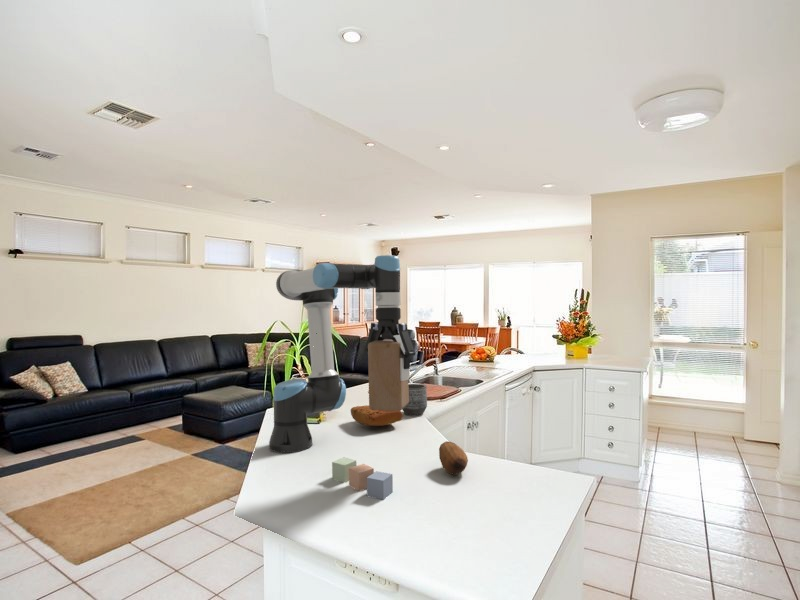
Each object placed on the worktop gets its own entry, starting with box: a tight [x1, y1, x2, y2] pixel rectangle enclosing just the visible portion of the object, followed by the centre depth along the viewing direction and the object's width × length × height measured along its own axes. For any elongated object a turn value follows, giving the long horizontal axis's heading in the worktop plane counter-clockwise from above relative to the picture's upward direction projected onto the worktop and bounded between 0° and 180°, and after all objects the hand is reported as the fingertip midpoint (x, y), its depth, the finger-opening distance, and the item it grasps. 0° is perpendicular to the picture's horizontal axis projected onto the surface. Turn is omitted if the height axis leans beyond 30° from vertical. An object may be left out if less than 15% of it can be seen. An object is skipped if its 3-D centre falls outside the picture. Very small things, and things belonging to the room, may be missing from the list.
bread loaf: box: [350, 404, 404, 427], centre depth 187 cm, size 22×17×8 cm
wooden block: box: [367, 339, 409, 411], centre depth 134 cm, size 10×10×20 cm
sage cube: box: [331, 456, 357, 483], centre depth 130 cm, size 5×5×5 cm
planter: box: [401, 383, 428, 417], centre depth 205 cm, size 12×12×13 cm
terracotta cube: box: [348, 463, 375, 492], centre depth 125 cm, size 5×5×5 cm
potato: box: [438, 441, 469, 476], centre depth 134 cm, size 8×14×8 cm
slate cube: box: [366, 470, 394, 501], centre depth 119 cm, size 5×5×5 cm
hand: (389, 377), depth 134 cm, fingers closed on wooden block, 13 cm apart
